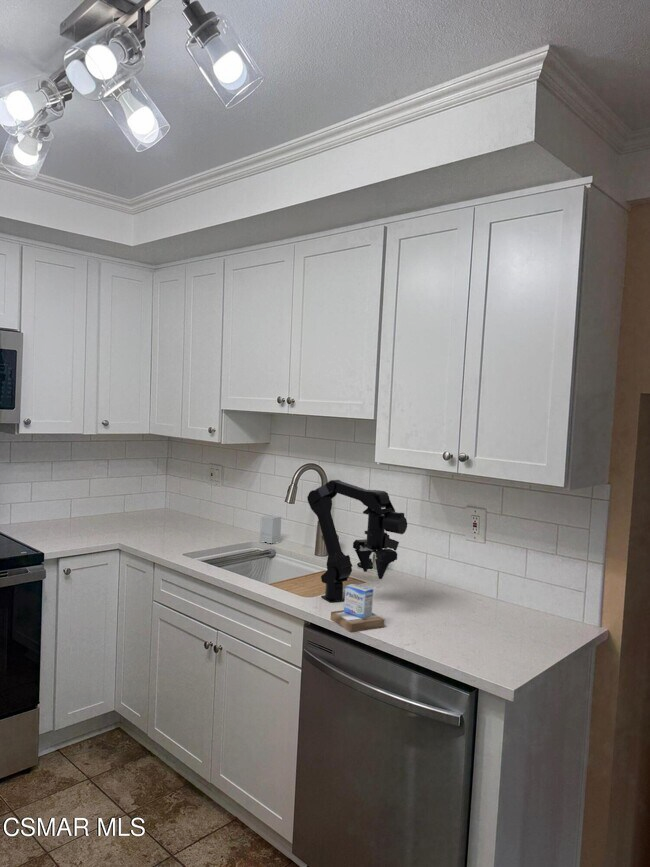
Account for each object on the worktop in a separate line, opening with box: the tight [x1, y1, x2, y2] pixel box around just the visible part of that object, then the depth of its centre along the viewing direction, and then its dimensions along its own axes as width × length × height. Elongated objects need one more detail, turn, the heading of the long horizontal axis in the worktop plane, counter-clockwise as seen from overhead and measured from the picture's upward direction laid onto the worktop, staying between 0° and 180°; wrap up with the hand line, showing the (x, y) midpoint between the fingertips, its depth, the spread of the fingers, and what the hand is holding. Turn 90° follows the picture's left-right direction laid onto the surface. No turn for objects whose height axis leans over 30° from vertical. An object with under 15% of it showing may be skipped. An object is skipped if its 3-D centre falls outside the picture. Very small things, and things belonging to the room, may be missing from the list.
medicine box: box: [343, 583, 374, 619], centre depth 197 cm, size 8×4×9 cm, turn 50°
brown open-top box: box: [330, 609, 385, 633], centre depth 197 cm, size 12×12×3 cm
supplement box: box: [259, 514, 282, 544], centre depth 307 cm, size 7×7×13 cm
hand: (372, 575), depth 211 cm, fingers open, 9 cm apart
